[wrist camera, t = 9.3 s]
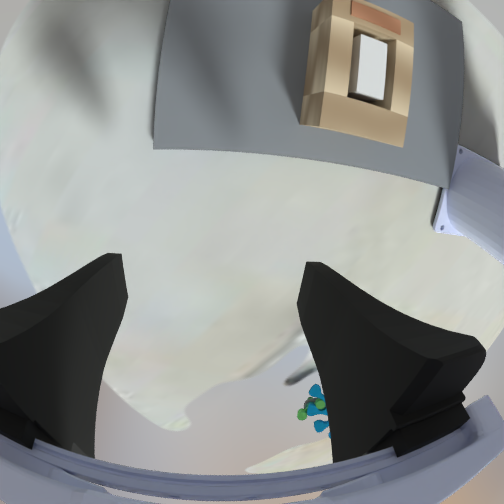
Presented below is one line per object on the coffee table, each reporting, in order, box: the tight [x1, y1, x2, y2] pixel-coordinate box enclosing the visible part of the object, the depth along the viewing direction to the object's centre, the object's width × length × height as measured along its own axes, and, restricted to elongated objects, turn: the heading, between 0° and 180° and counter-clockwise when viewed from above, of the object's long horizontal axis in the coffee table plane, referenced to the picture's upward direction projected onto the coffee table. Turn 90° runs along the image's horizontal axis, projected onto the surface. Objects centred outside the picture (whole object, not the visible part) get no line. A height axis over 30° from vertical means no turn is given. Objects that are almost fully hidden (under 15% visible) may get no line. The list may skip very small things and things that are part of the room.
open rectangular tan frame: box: [299, 0, 414, 148], centre depth 12 cm, size 8×5×4 cm, turn 174°
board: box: [153, 0, 464, 189], centre depth 11 cm, size 22×16×4 cm
